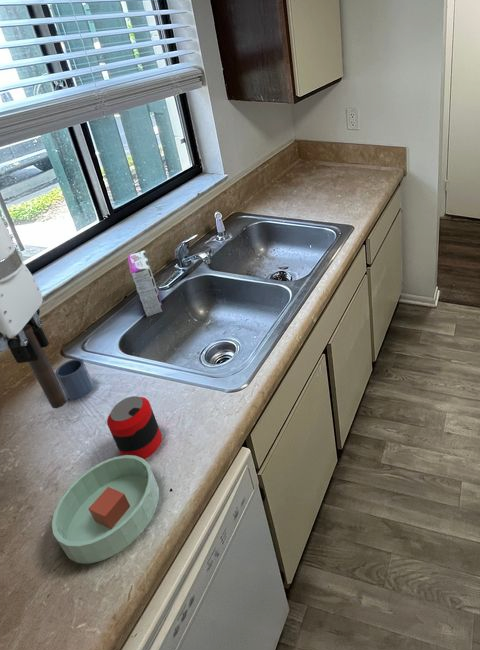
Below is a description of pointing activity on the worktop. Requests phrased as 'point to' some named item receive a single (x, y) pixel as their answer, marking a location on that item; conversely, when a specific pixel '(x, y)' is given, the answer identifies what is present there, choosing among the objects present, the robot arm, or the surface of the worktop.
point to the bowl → (72, 510)
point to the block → (109, 507)
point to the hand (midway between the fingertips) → (33, 352)
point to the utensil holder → (74, 379)
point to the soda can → (134, 427)
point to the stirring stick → (45, 373)
